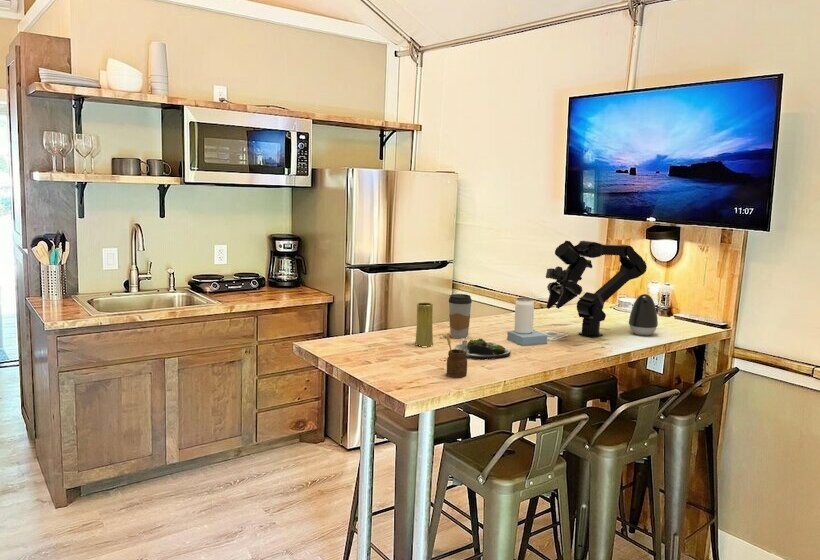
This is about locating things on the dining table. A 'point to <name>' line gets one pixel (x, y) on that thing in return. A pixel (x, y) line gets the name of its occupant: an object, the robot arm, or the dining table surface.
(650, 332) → the black egg-shaped dome
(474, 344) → the salad plate
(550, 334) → the page
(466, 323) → the coffee cup
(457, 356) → the utensil holder
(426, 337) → the vase
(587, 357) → the dining table surface
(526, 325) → the can
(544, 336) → the base brick
